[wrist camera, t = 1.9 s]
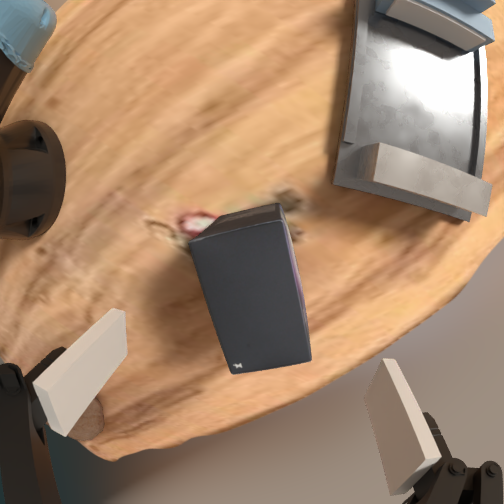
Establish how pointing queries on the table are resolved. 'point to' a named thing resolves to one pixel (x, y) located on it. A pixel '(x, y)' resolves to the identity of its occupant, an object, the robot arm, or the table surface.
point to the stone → (88, 423)
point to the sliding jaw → (445, 19)
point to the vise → (413, 117)
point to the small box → (253, 289)
